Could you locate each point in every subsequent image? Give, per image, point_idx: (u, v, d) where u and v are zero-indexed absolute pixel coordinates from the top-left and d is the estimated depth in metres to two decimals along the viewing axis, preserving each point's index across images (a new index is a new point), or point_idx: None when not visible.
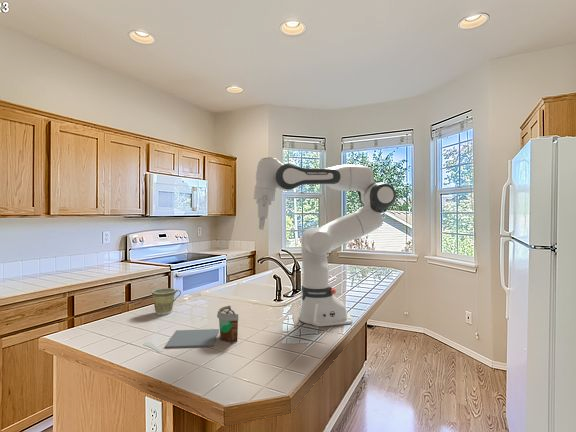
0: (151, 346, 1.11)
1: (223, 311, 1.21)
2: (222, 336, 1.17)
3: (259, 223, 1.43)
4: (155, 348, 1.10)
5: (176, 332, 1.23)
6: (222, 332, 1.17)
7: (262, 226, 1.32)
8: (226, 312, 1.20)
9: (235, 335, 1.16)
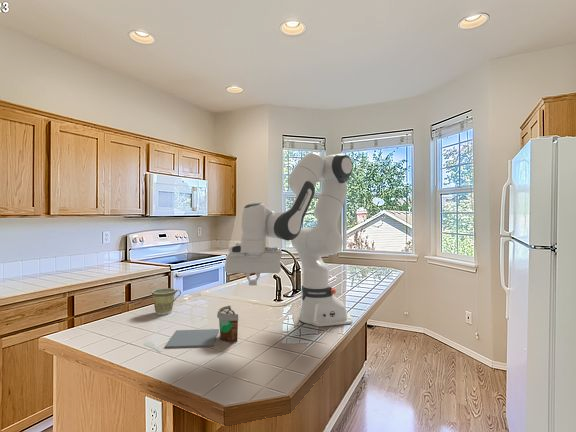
0: (151, 346, 1.11)
1: (223, 311, 1.21)
2: (222, 336, 1.17)
3: (250, 280, 1.19)
4: (155, 348, 1.10)
5: (176, 332, 1.23)
6: (222, 332, 1.17)
7: (256, 281, 1.20)
8: (226, 312, 1.20)
9: (235, 335, 1.16)
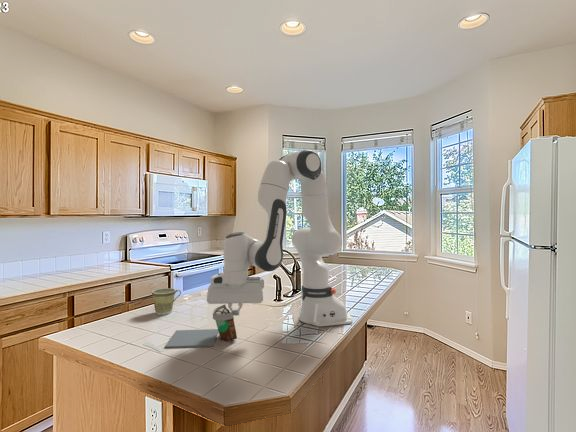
0: (151, 346, 1.11)
1: (218, 311, 1.20)
2: (221, 336, 1.17)
3: (232, 310, 1.18)
4: (155, 348, 1.10)
5: (176, 332, 1.23)
6: (220, 332, 1.17)
7: None
8: (221, 312, 1.19)
9: (234, 333, 1.16)
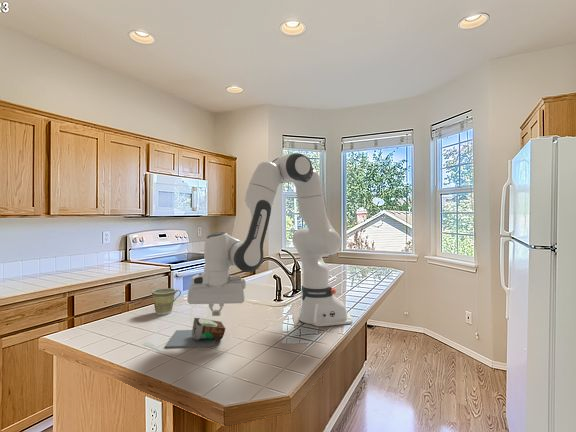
0: (151, 346, 1.11)
1: (195, 330, 1.18)
2: (217, 338, 1.16)
3: (213, 310, 1.18)
4: (155, 348, 1.10)
5: (176, 332, 1.23)
6: (213, 338, 1.16)
7: (220, 311, 1.19)
8: (196, 329, 1.16)
9: (218, 329, 1.14)
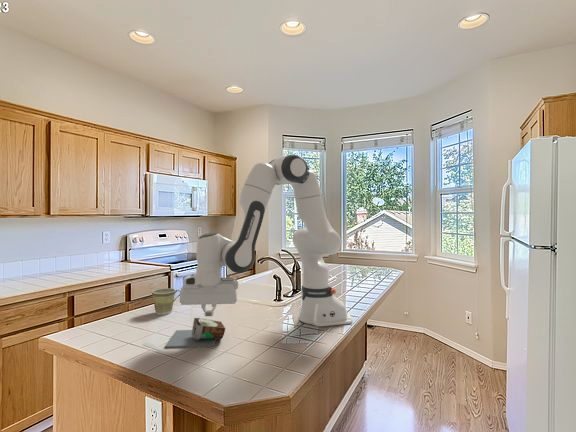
0: (151, 346, 1.11)
1: (195, 330, 1.18)
2: (217, 338, 1.16)
3: (206, 311, 1.18)
4: (155, 348, 1.10)
5: (176, 332, 1.23)
6: (213, 338, 1.16)
7: None
8: (196, 329, 1.16)
9: (218, 329, 1.14)
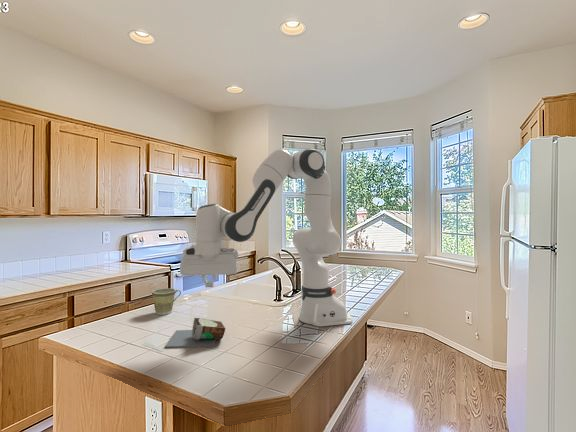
0: (151, 346, 1.11)
1: (195, 330, 1.18)
2: (217, 338, 1.16)
3: (206, 282, 1.18)
4: (155, 348, 1.10)
5: (176, 332, 1.23)
6: (213, 338, 1.16)
7: (213, 283, 1.19)
8: (196, 329, 1.16)
9: (218, 329, 1.14)
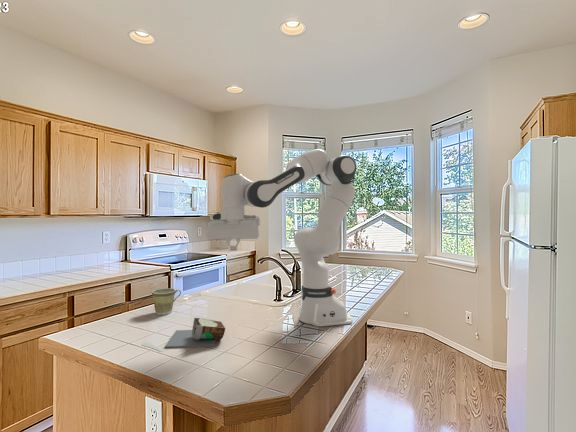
0: (151, 346, 1.11)
1: (195, 330, 1.18)
2: (217, 338, 1.16)
3: (230, 245, 1.28)
4: (155, 348, 1.10)
5: (176, 332, 1.23)
6: (213, 338, 1.16)
7: None
8: (196, 329, 1.16)
9: (218, 329, 1.14)
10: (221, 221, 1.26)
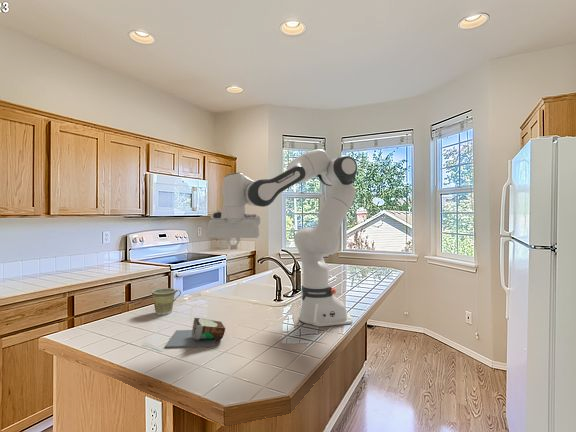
0: (150, 346, 1.11)
1: (195, 330, 1.18)
2: (217, 338, 1.16)
3: (231, 244, 1.28)
4: (155, 348, 1.10)
5: (176, 332, 1.23)
6: (213, 338, 1.16)
7: None
8: (196, 329, 1.16)
9: (218, 329, 1.14)
10: (221, 220, 1.26)
